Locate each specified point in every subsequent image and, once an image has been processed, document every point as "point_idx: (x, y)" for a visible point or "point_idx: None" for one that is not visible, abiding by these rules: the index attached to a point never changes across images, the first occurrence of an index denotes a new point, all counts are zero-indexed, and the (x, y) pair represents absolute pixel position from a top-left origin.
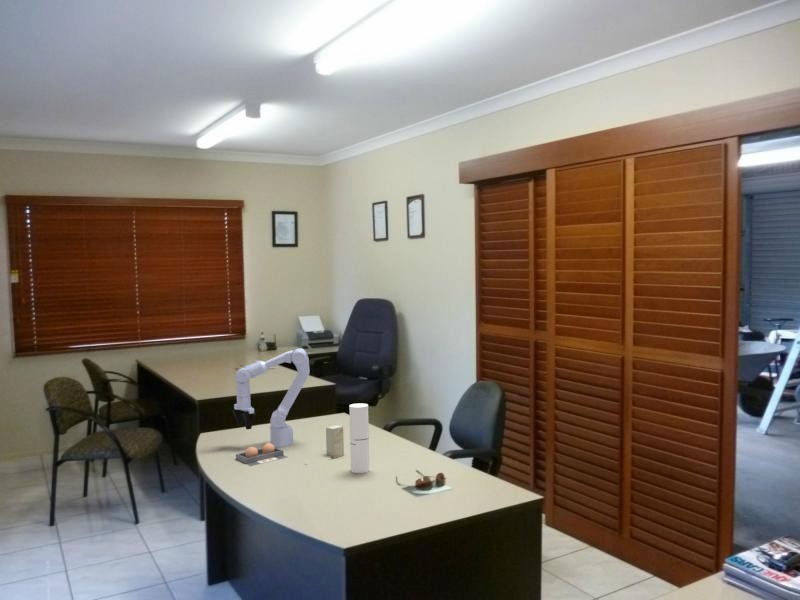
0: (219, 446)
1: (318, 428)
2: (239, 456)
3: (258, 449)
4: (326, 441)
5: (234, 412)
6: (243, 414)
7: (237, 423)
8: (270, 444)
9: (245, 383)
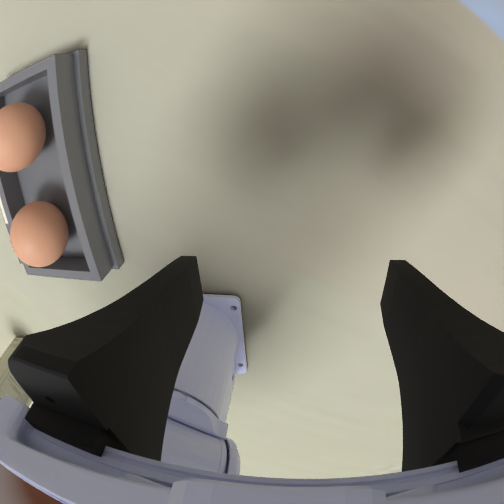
0: (471, 115)
1: (328, 462)
2: (25, 69)
3: (73, 199)
4: (5, 369)
5: (488, 367)
6: (27, 356)
7: (411, 273)
8: (14, 251)
9: None
